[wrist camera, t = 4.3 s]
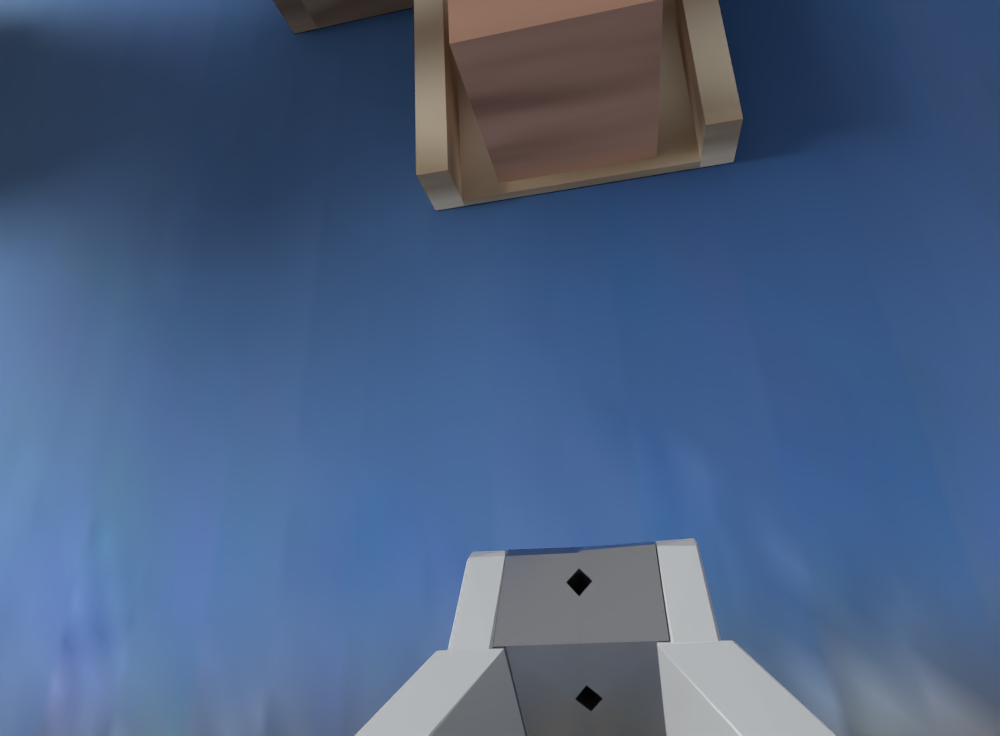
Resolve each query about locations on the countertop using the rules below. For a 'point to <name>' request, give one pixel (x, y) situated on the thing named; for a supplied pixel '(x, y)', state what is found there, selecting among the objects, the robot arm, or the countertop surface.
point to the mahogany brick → (560, 80)
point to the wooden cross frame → (472, 179)
